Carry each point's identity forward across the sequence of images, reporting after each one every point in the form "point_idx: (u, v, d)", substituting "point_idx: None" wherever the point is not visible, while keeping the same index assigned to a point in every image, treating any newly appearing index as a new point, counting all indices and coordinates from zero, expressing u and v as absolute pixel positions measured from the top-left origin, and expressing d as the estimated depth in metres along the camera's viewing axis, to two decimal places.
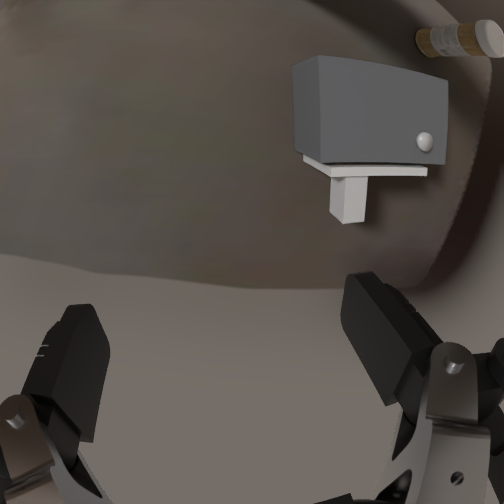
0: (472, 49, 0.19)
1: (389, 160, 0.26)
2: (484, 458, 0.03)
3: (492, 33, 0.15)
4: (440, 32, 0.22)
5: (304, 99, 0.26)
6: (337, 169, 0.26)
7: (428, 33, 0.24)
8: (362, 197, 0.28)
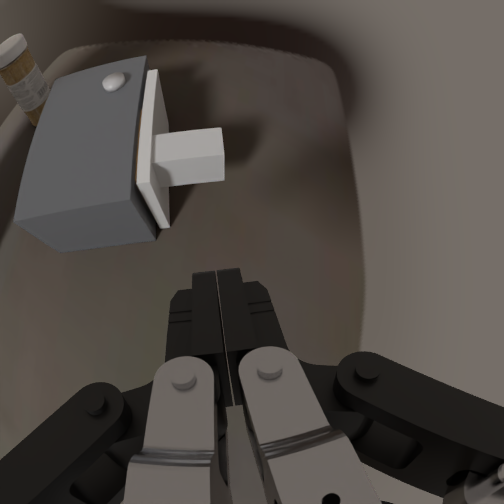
0: (23, 65, 0.19)
1: (134, 113, 0.20)
2: (356, 463, 0.03)
3: (0, 51, 0.16)
4: (21, 101, 0.23)
5: (77, 233, 0.21)
6: (139, 174, 0.18)
7: (28, 113, 0.25)
8: (184, 135, 0.19)
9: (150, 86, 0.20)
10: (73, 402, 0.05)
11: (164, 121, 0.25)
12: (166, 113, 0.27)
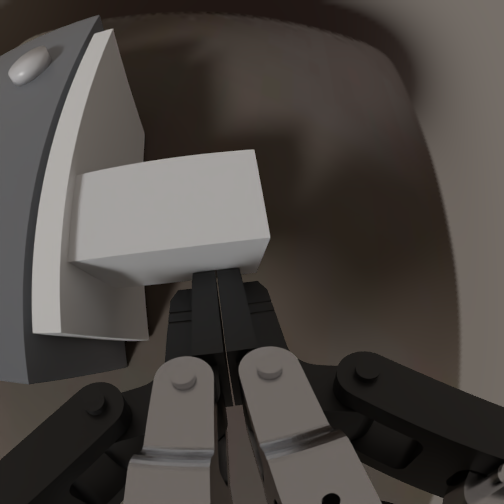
0: None
1: (45, 127, 0.07)
2: (356, 463, 0.03)
3: None
4: None
5: None
6: (37, 304, 0.05)
7: None
8: (153, 174, 0.07)
9: (90, 59, 0.08)
10: (73, 402, 0.05)
11: (130, 129, 0.13)
12: None
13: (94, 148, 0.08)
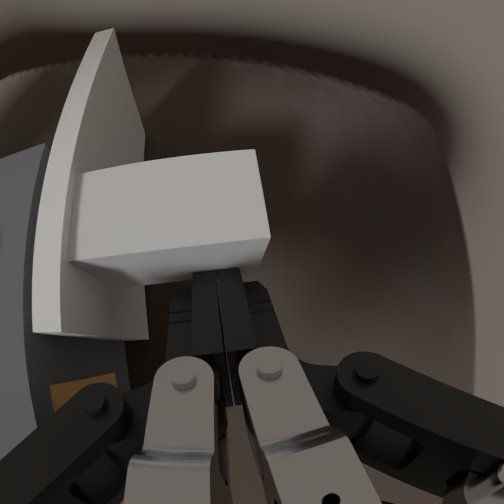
0: None
1: None
2: (356, 463, 0.03)
3: None
4: None
5: None
6: (37, 303, 0.05)
7: None
8: (154, 173, 0.07)
9: (91, 58, 0.08)
10: (73, 402, 0.05)
11: (131, 129, 0.13)
12: (138, 114, 0.15)
13: (95, 147, 0.08)
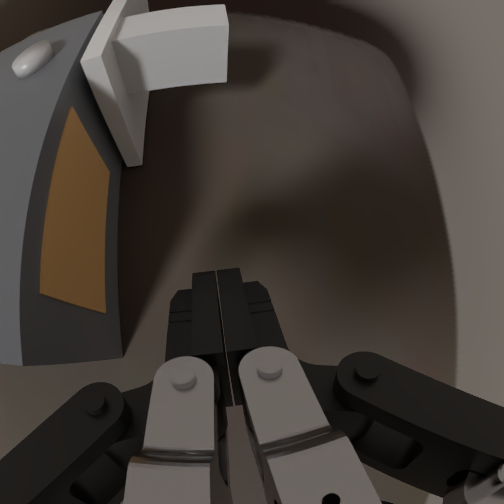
0: None
1: (46, 117, 0.07)
2: (356, 462, 0.03)
3: None
4: None
5: None
6: (88, 51, 0.08)
7: None
8: (168, 12, 0.10)
9: None
10: (73, 403, 0.05)
11: None
12: None
13: None
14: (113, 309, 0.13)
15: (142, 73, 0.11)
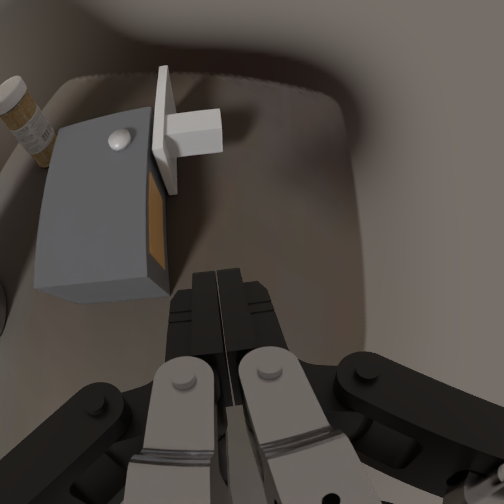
0: (25, 110, 0.21)
1: (143, 180, 0.21)
2: (356, 463, 0.03)
3: None
4: (26, 145, 0.25)
5: (96, 294, 0.22)
6: (154, 142, 0.22)
7: (33, 155, 0.27)
8: (190, 115, 0.24)
9: (162, 78, 0.25)
10: (73, 403, 0.05)
11: (173, 108, 0.30)
12: (174, 103, 0.32)
13: (167, 110, 0.25)
14: (166, 269, 0.27)
15: (179, 149, 0.25)
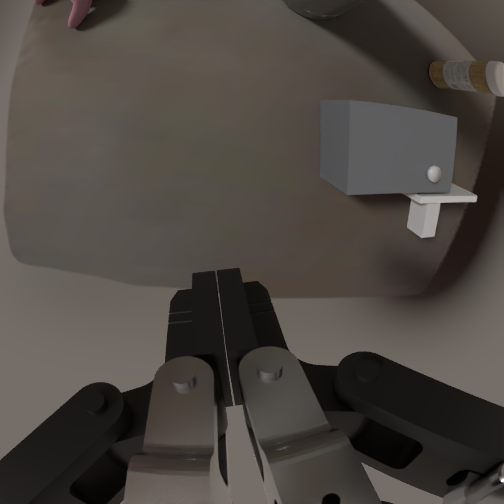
0: (481, 88, 0.23)
1: (403, 191, 0.30)
2: (356, 463, 0.03)
3: (500, 75, 0.19)
4: (452, 69, 0.26)
5: (332, 135, 0.30)
6: (424, 198, 0.31)
7: (441, 67, 0.28)
8: (435, 218, 0.33)
9: (467, 198, 0.32)
10: (73, 403, 0.05)
11: None
12: None
13: None
14: None
15: (416, 203, 0.34)
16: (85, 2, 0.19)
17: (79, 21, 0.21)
